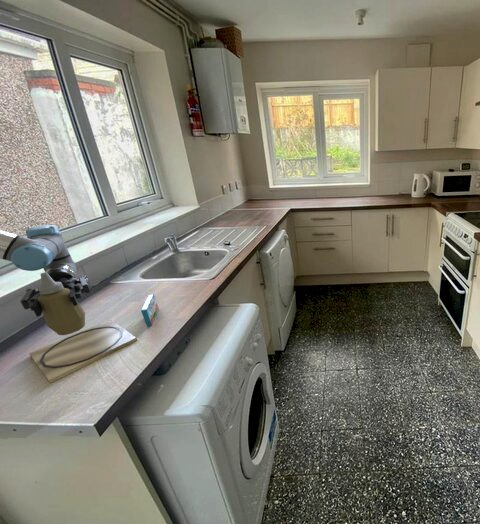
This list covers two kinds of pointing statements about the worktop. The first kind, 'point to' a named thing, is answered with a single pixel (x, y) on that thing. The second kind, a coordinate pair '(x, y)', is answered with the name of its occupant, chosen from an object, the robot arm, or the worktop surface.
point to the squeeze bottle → (59, 307)
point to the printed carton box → (150, 310)
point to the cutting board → (81, 349)
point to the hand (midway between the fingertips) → (55, 306)
